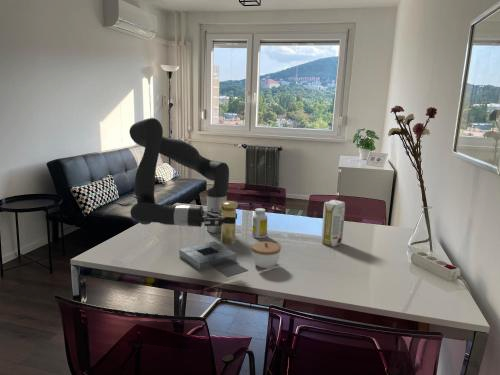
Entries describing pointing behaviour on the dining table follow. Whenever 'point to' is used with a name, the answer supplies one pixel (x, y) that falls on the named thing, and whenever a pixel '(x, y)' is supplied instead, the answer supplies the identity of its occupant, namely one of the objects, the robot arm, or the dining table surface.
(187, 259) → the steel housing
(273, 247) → the lidded jar
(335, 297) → the dining table surface
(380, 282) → the dining table surface
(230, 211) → the brass plug
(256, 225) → the supplement bottle
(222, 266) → the rubber mat
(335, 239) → the juice carton
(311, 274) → the dining table surface
